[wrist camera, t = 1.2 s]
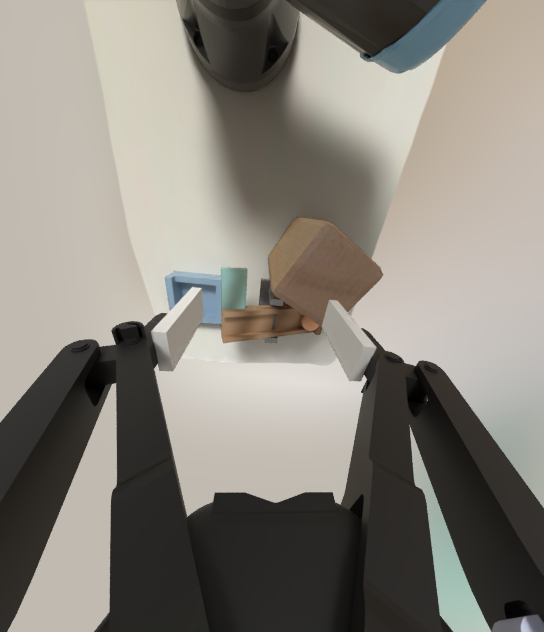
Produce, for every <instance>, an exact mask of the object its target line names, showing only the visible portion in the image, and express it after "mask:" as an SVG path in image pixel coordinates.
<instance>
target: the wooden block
mask: <svg viewBox="0 0 544 632" xmlns="http://www.w3.org/2000/svg"><path fill="white" fill-rule="evenodd" d="M268 264H269V273H270V282H271V291H272V292H273V294H274V295H275V296H276V297H277V298H279V299H280V300H282V301H283V302H285V303H286V304H288V305H289V306H291V307H292V308H294V309H295V310H297V311H298V312H300V313H301V314H303V315H304V316H306V317H307V318H309V319H310V320H312V321H313V322H315V323H316V324H318V325H319V326H321V327H322V323H323V320H324V316H325V313H326V309H327V306H328V302H329V300H337V301H338V302H339V303H340V304H341V305H342V307H343V308H344V309H345V310H346V311H347V312H348V311H349V310H350V309H351V308H352V307H353V306H354V305H355V304H356V303H357V302H358V301H359V300H360V299H361V298H362V297H363V296H364V295H365V294H366V293H367V292H368V291H369V290H370V289H371V288H372V287H373V286H374V285H375V284H376V283H377V282H378V281H379V280H380V279H381V277H382V275H383V274H382V271H381V269H380V267H379V266H378V265H377V264H376V263H375V262H374V261H373V260H372V259H371V258H369V257H368V256H367V255H366V254H365V253H364V252H363V251H362V250H361V249H360V248H359V247H358V246H356V245H355V244H354V243H353V242H352V241H351V240H350V239H349V238H348V237H347V236H346V235H345V234H344V233H342V232H341V231H340V230H339V229H338V228H337V227H336V226H335V225H334V224H333V223H331V222H328V221H323V220H316V219H308V218H301V217H297V218H295V219H294V220H293V221H292V223H291V224H290V226H289V227H288V228H287V230H286V231H285V233H284V234H283V236H282V237H281V238H280V240H279V241H278V243H277V244H276V246H275V247H274V249H273V250H272V251H271V253H270V254H269V257H268Z"/></svg>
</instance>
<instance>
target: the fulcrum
mask: <svg viewBox="0 0 544 632" xmlns="http://www.w3.org/2000/svg"><path fill="white" fill-rule="evenodd" d="M283 304H285V302H283V301H282V300H280V299H279V298H277V297H276V296H275V295H274V294H273V292H272V291H271V282H270V279H261V287H260V297H259V305H275V306H283ZM265 342H269V343H277V336H276V337H268V338H265Z"/></svg>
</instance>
